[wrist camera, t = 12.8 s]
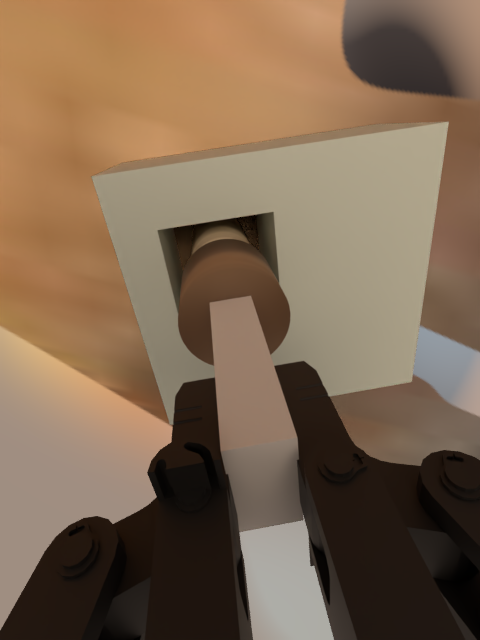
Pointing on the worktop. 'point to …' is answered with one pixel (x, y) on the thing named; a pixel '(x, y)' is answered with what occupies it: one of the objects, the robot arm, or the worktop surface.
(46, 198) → the worktop surface
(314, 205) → the seat board
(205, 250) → the peg
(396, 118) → the worktop surface
